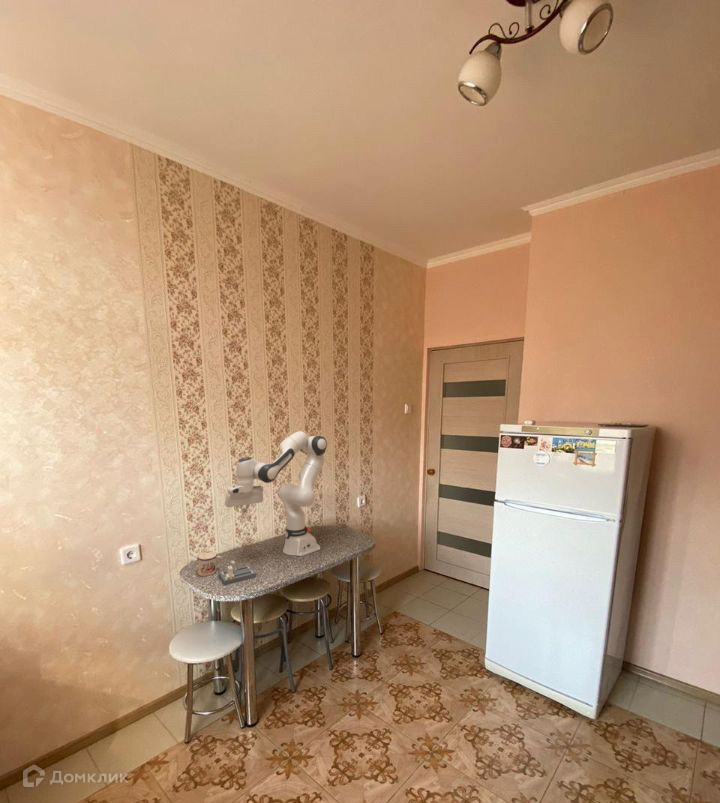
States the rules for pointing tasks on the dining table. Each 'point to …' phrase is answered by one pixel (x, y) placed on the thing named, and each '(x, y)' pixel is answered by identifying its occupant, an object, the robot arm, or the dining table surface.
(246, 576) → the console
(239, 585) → the dining table surface
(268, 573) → the dining table surface
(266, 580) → the dining table surface
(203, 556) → the teacup with lid
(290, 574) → the dining table surface
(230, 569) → the cap
